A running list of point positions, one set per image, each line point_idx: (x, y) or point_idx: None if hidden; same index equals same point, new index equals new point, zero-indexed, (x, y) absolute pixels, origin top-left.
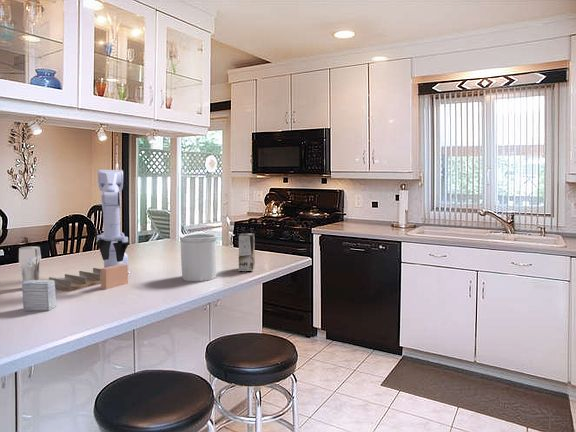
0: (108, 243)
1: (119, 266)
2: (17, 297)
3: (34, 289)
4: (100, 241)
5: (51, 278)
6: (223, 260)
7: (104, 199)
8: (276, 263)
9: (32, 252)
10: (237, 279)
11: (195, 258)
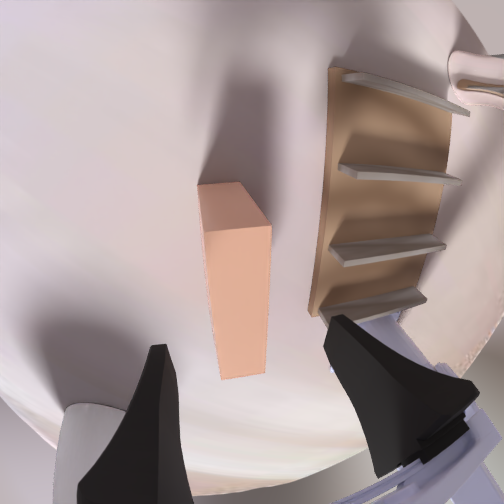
0: (381, 449)
1: (215, 339)
2: None
3: None
4: (448, 426)
5: (459, 107)
6: (219, 475)
7: None
8: None
9: None
10: (46, 429)
11: (61, 462)
